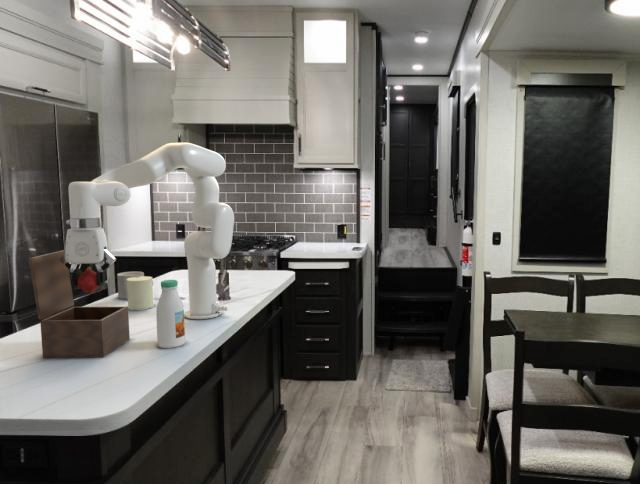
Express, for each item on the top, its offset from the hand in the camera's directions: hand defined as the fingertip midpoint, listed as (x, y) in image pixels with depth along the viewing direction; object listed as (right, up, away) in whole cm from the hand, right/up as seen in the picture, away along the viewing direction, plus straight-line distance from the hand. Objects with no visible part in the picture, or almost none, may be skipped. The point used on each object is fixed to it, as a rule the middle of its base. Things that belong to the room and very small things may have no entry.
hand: (89, 284), depth 146 cm
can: (-11, -14, +49) cm, 52 cm away
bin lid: (-10, 0, -1) cm, 10 cm away
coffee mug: (-22, -12, +66) cm, 71 cm away
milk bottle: (+21, -19, +6) cm, 30 cm away
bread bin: (-1, -19, +2) cm, 20 cm away
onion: (0, -3, 0) cm, 3 cm away
